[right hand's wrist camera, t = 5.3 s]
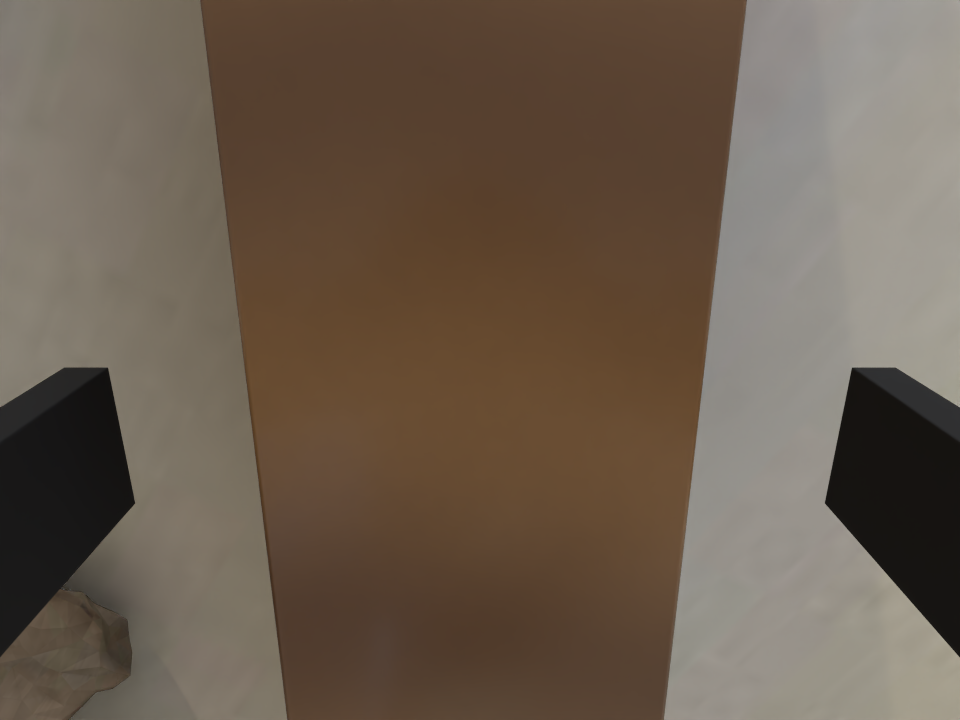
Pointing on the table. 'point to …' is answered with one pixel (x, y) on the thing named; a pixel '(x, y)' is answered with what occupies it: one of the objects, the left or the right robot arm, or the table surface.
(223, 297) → the table surface
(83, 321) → the table surface
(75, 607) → the stone
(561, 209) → the bar
